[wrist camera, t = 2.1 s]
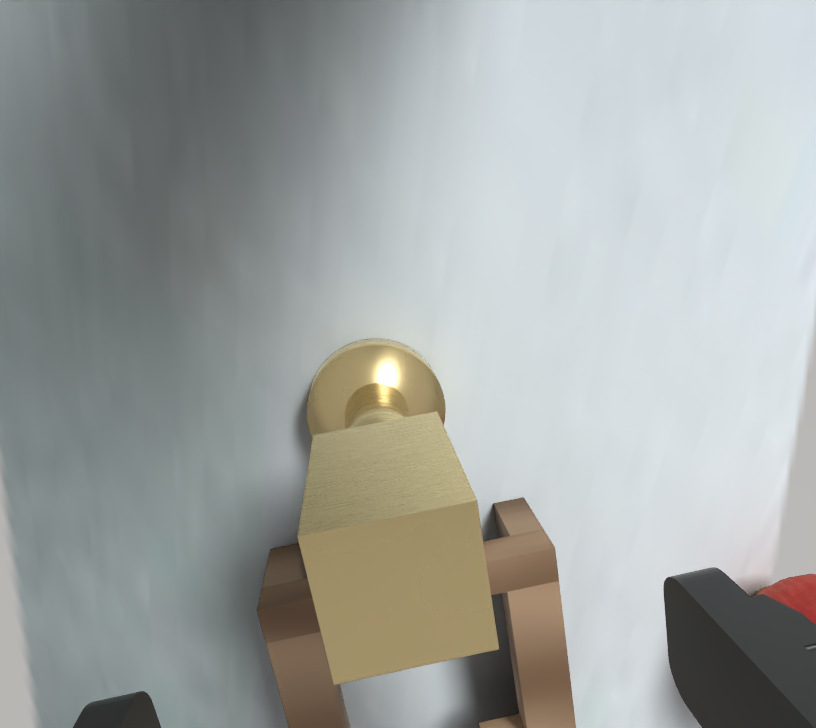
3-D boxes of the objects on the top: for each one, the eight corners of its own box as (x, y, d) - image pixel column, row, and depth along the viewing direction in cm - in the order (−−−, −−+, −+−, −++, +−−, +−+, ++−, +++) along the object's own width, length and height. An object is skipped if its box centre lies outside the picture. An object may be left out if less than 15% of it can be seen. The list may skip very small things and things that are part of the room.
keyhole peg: (296, 352, 21) (240, 504, 10) (429, 327, 21) (515, 450, 10) (323, 474, 22) (300, 727, 11) (449, 449, 22) (544, 674, 11)
